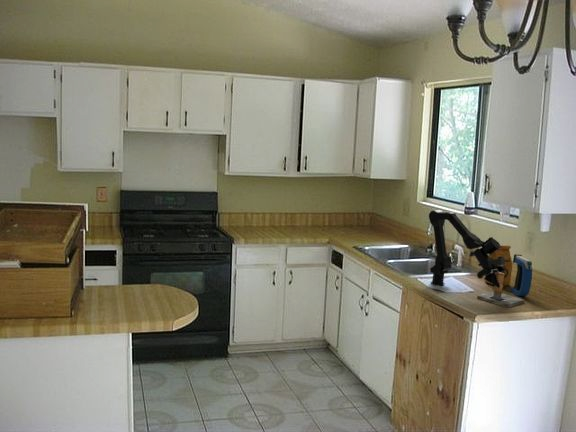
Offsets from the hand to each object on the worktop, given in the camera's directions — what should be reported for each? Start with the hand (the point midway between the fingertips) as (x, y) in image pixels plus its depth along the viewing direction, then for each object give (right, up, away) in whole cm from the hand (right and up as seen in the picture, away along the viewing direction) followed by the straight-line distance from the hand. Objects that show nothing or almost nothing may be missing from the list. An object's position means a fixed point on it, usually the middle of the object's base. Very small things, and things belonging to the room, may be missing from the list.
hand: (501, 286), depth 285 cm
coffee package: (+12, -3, +39) cm, 40 cm away
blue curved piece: (+16, -7, +20) cm, 26 cm away
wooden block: (-2, -6, +2) cm, 7 cm away
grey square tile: (+1, -7, +5) cm, 9 cm away
